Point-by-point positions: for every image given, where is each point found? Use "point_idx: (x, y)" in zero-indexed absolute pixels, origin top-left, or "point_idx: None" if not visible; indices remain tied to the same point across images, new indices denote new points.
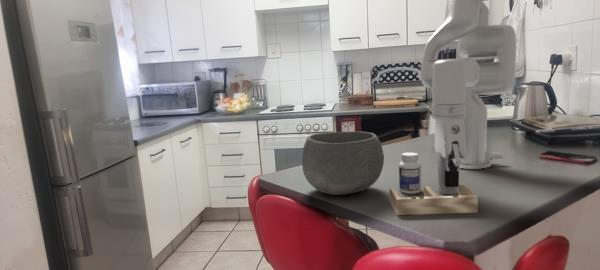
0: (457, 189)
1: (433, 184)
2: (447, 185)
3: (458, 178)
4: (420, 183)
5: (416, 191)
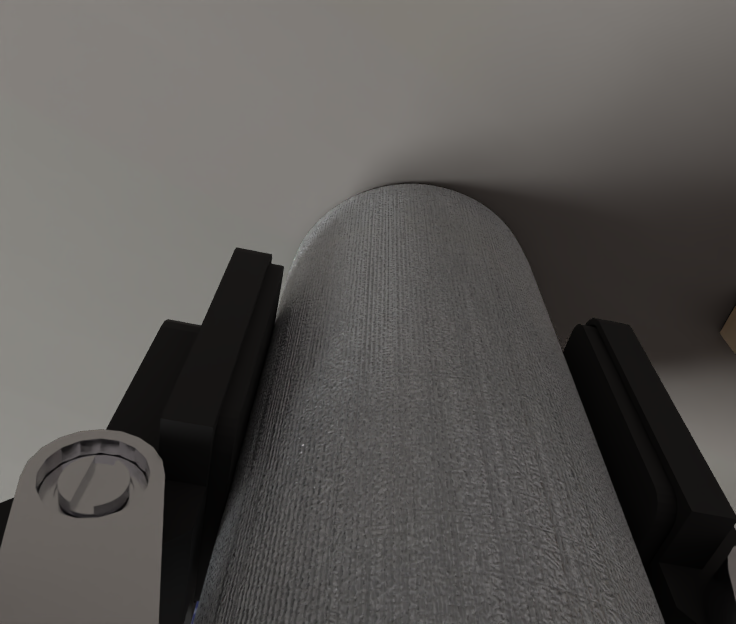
0: (512, 243)
1: (22, 294)
2: None
3: (668, 404)
4: None
5: None
